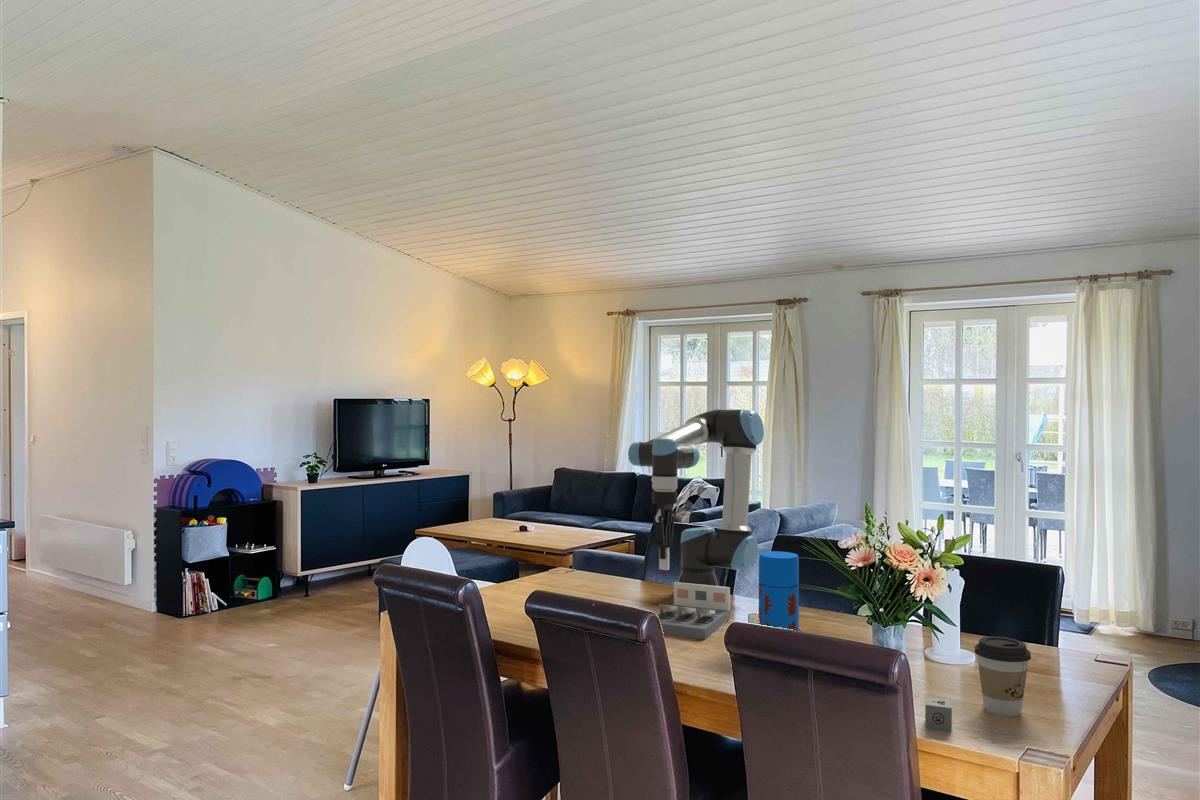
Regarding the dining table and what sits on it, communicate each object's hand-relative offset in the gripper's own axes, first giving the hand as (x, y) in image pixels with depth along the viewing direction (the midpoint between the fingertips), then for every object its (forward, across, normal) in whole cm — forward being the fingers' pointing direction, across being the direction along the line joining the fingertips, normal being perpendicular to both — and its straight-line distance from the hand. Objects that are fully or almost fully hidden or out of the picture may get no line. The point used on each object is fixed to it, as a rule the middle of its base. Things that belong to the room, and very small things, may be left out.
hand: (664, 569), depth 252 cm
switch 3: (+12, -3, +12) cm, 17 cm away
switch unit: (+17, -5, +6) cm, 19 cm away
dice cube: (+18, +46, +79) cm, 93 cm away
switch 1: (+12, -3, 0) cm, 12 cm away
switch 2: (+12, -3, +6) cm, 14 cm away
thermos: (+18, +3, +35) cm, 39 cm away
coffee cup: (+18, +31, +91) cm, 98 cm away
